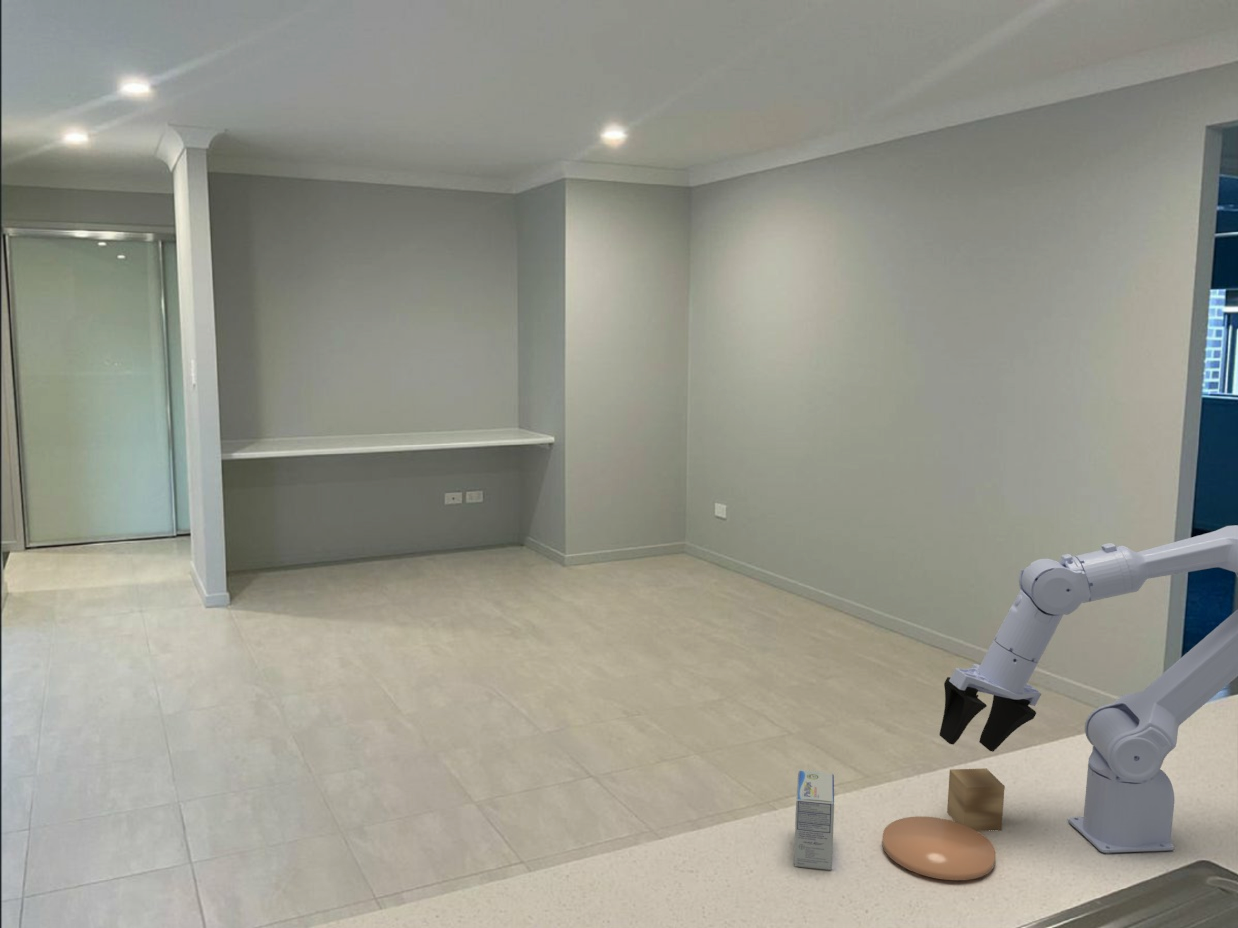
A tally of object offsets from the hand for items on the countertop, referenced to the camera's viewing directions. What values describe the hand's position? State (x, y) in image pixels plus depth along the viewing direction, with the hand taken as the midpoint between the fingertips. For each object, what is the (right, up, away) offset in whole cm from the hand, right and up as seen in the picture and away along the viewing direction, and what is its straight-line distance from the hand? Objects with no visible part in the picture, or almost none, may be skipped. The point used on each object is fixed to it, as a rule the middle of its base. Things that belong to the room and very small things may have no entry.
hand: (966, 743), depth 126 cm
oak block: (+2, -11, +3) cm, 11 cm away
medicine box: (-20, -12, -5) cm, 24 cm away
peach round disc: (-5, -12, -6) cm, 14 cm away
